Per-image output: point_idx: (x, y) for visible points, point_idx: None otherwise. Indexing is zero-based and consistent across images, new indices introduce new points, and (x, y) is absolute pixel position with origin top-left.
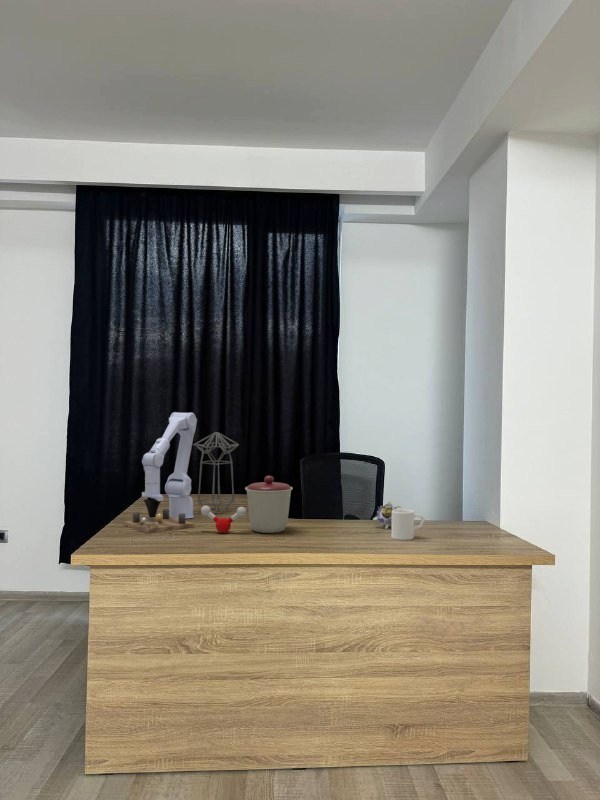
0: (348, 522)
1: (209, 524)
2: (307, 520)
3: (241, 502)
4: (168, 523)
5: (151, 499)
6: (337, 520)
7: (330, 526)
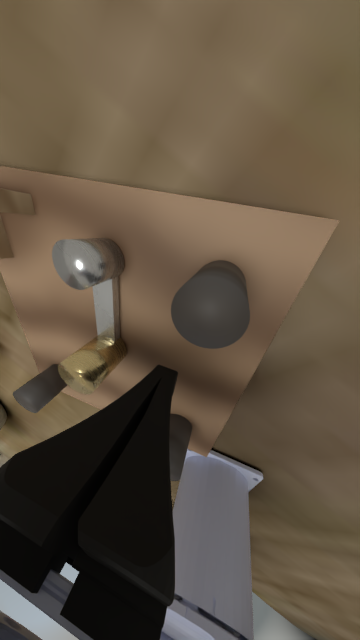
0: None
1: (77, 415)
2: None
3: None
4: (74, 348)
5: (35, 551)
6: None
7: (5, 441)
